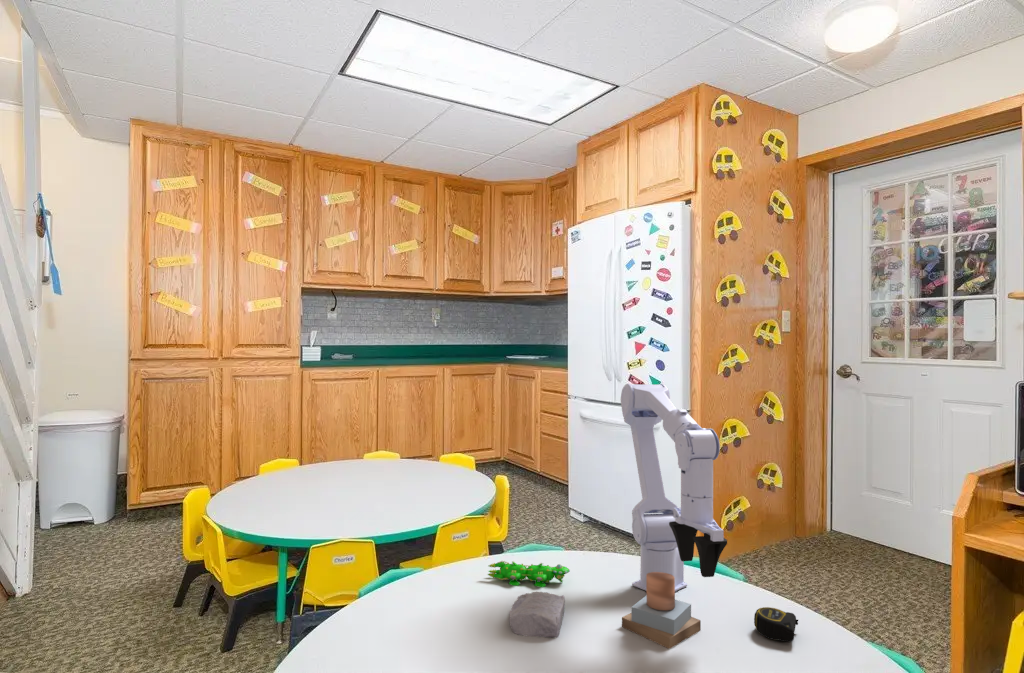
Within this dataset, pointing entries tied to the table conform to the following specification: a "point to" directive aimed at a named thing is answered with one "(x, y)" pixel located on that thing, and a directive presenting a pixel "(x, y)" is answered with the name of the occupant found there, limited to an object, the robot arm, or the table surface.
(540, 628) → the stone block
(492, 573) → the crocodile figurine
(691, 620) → the tower base
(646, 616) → the tower top
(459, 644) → the table surface
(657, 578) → the brown cylinder
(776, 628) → the tape measure
